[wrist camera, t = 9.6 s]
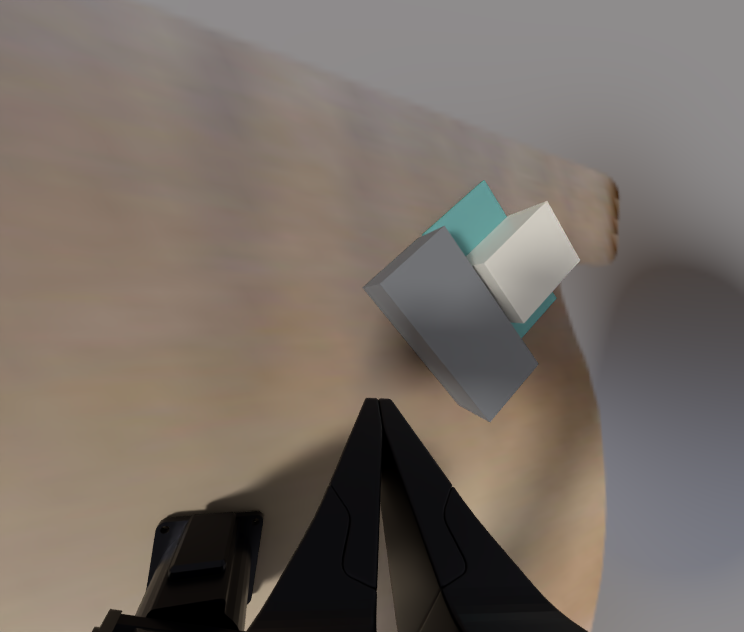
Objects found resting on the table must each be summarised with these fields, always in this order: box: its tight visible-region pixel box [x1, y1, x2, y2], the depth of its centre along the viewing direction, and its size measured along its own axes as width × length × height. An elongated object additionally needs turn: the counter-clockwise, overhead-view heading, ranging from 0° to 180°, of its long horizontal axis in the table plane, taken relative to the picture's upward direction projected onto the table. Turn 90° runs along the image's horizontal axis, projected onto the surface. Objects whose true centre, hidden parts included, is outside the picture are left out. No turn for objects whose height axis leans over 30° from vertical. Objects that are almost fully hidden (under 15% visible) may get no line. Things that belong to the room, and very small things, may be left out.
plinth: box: [363, 226, 538, 422], centre depth 23 cm, size 6×14×4 cm, turn 42°
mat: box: [422, 180, 557, 338], centre depth 26 cm, size 8×14×1 cm, turn 41°
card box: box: [466, 201, 580, 323], centre depth 24 cm, size 4×6×8 cm
